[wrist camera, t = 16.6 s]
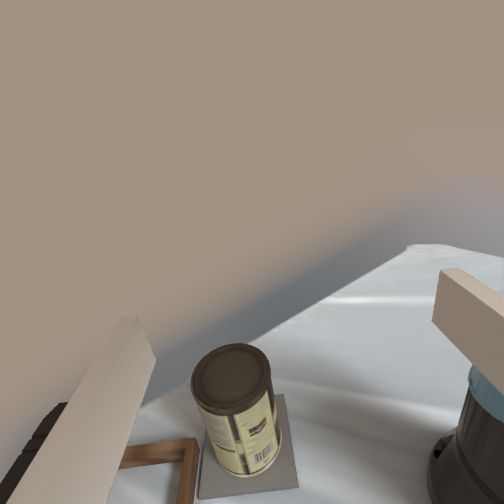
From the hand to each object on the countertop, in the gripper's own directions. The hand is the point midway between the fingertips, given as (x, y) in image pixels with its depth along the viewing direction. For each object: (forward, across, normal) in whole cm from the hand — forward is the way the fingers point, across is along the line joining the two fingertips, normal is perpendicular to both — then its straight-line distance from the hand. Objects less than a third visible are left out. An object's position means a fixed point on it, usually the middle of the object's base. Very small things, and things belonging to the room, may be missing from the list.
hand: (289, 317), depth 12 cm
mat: (+16, -7, -35) cm, 39 cm away
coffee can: (+16, -7, -35) cm, 39 cm away
